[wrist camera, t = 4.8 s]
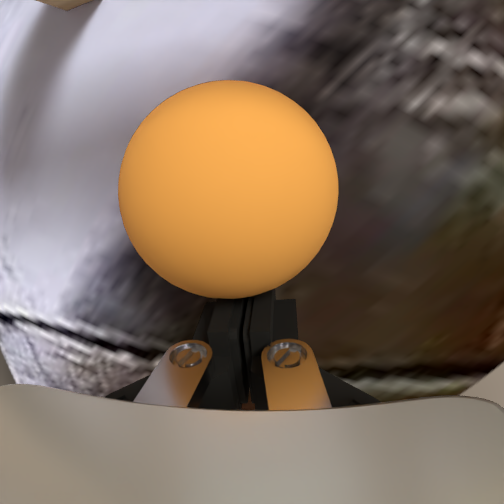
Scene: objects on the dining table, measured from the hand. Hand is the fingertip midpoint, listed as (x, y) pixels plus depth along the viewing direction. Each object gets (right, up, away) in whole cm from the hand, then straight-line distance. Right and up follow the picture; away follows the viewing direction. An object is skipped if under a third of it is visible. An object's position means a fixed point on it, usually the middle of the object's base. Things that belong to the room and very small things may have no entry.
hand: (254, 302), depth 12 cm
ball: (-1, +4, -3) cm, 5 cm away
